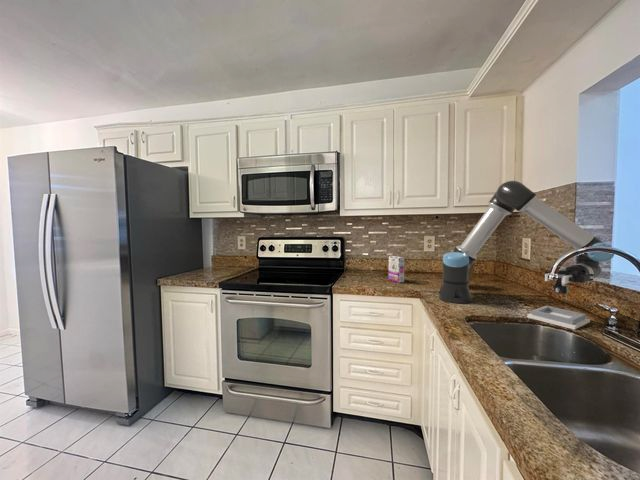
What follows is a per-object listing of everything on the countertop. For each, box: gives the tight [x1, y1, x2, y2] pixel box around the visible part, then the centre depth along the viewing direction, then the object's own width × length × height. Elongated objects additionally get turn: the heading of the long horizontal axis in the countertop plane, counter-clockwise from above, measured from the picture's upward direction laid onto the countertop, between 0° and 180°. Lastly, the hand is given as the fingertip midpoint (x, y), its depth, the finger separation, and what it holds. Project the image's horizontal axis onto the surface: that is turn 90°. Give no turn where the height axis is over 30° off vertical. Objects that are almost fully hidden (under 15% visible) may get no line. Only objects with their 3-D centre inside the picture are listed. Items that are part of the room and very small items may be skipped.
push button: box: [552, 266, 569, 295], centre depth 110 cm, size 7×5×10 cm
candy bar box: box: [387, 255, 406, 284], centre depth 182 cm, size 11×5×16 cm, turn 23°
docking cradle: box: [526, 305, 591, 330], centre depth 110 cm, size 15×15×3 cm
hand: (554, 278), depth 107 cm, fingers closed on push button, 5 cm apart
